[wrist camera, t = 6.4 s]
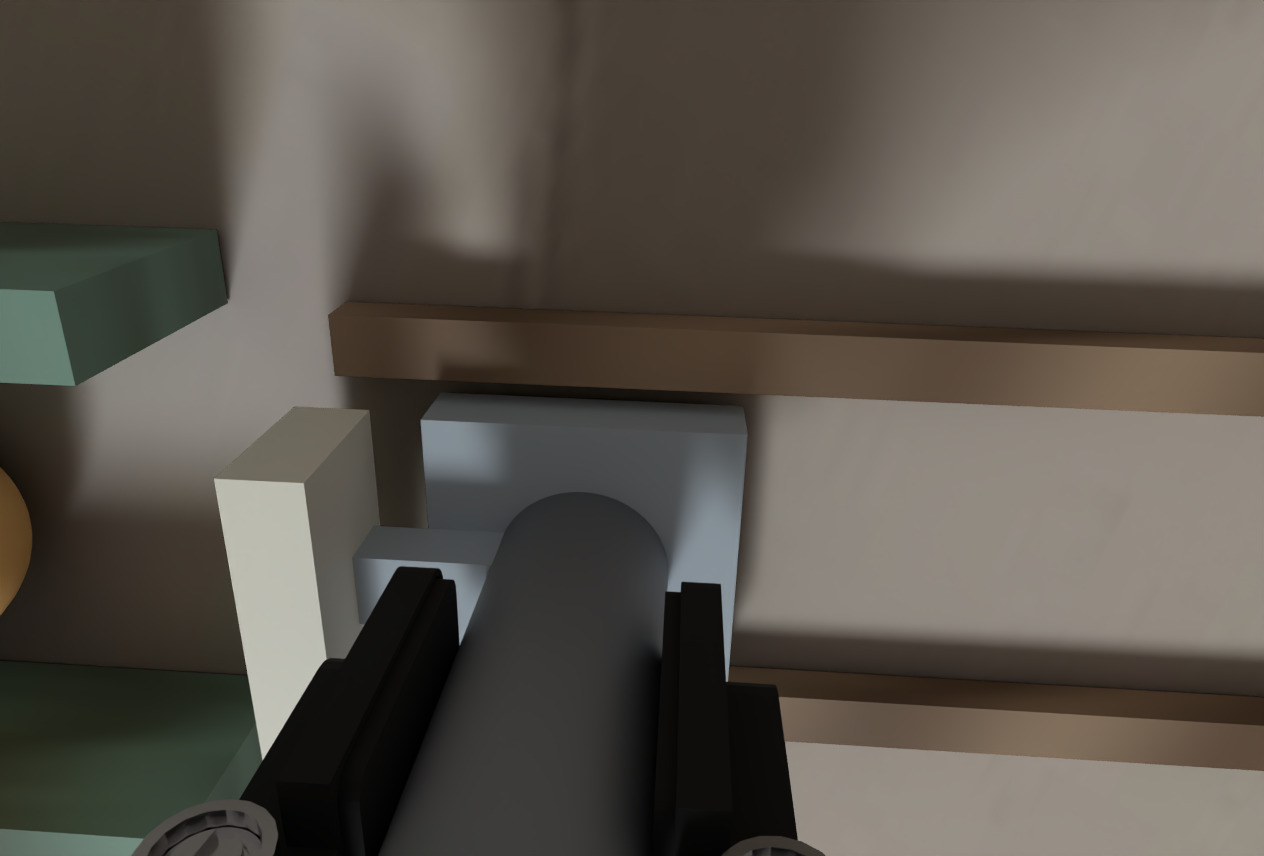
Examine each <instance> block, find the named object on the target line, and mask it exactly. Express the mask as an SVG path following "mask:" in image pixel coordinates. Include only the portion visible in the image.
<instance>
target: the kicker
mask: <svg viewBox="0 0 1264 856" xmlns="http://www.w3.org/2000/svg"><path fill="white" fill-rule="evenodd" d="M421 433H422V447H423V460H424V474H425V488H426V502H427V516H428V529H426V528H406V527H387V526H380V517H379V506H378V496H377V486H376V475H375V465H374V454H373V444H372V433H371V423H370V412H369V410H357V409H335V408H313V407H293V408H292V409H291V410H290V411H289V412H288V413H287V414H286V415H285V416H283V417H282V418H281V419H280V420H279V421H278V422H277V423H276V424H274V425H273V426H272V427H271V428H270V429H269V430H268V431H267V432H266V433H264V434H263V435H262V436H261V437H260V438H259V439H258V440H257V441H256V442H254V443H253V444H252V445H251V446H250V447H249V448H248V449H247V450H245V451H244V452H243V453H242V454H241V455H240V456H239V457H238V458H237V459H235V460H234V461H233V462H232V463H231V464H230V465H229V466H228V467H227V468H225V469H224V470H223V471H222V472H221V473H220V474H219V475H218V476H216V477H215V478H214V482H215V488H216V494H217V499H218V505H219V511H220V517H221V523H222V528H223V534H224V540H225V546H226V552H227V557H228V563H229V569H230V575H231V581H232V586H233V592H234V598H235V604H236V609H237V615H238V621H239V627H240V633H241V638H242V644H243V650H244V656H245V662H246V667H247V673H248V679H249V685H250V691H251V696H252V702H253V708H254V714H255V720H256V725H257V731H258V737H259V743H260V749H261V754H262V760H263V759H264V757H265V756H266V754H267V752H268V751H269V749H270V748H271V746H272V744H273V743H274V741H275V739H276V738H277V736H278V734H279V733H280V731H281V729H282V728H283V726H284V724H285V723H286V721H287V719H288V718H289V716H290V714H291V713H292V711H293V710H294V708H295V706H296V705H297V703H298V701H299V700H300V698H301V696H302V695H303V693H304V691H305V690H306V688H307V686H308V685H309V683H310V681H311V680H312V678H313V676H314V675H315V673H316V672H317V670H318V668H319V667H320V666H321V664H322V663H323V662H324V661H325V660H327V659H329V658H340V659H345V658H346V656H347V654H348V653H349V651H350V649H351V647H352V646H353V644H354V642H355V640H356V639H357V637H358V635H359V633H360V632H361V630H362V628H363V626H364V625H365V623H366V621H367V619H368V618H369V616H370V614H371V612H372V611H373V609H374V607H375V605H376V604H377V602H378V600H379V598H380V597H381V595H382V593H383V591H384V590H385V588H386V586H387V584H388V583H389V581H390V579H391V577H392V576H393V574H394V572H395V570H396V569H397V568H398V567H400V566H406V567H425V568H439V569H440V570H441V572H442V575H443V579H452V580H454V581H455V584H456V593H457V610H458V626H459V643H460V646H459V649H458V651H457V654H456V657H455V659H454V662H453V664H452V667H451V669H450V672H449V674H448V677H447V680H446V682H445V685H444V687H443V690H442V692H441V695H440V698H439V700H438V703H437V705H436V708H435V710H434V713H433V716H432V718H431V721H430V723H429V726H428V728H427V731H426V733H425V736H424V739H423V741H422V744H421V746H420V749H419V751H418V754H417V757H416V759H415V762H414V764H413V767H412V769H411V772H410V774H409V777H408V780H407V782H406V785H405V787H404V790H403V792H402V795H401V798H400V800H399V803H398V805H397V808H396V810H395V813H394V815H393V818H392V821H391V823H390V826H389V828H388V831H387V833H386V836H385V839H384V841H383V844H382V846H381V849H380V851H379V854H378V856H652V841H653V819H654V798H655V778H656V759H657V740H658V721H659V702H660V682H661V663H662V644H663V625H664V606H665V591H669V592H681V582H699V583H717V584H721V594H722V613H723V632H724V652H725V671H726V682H728V674H729V661H730V649H731V636H732V624H733V611H734V599H735V586H736V574H737V561H738V549H739V536H740V524H741V512H742V499H743V487H744V474H745V462H746V449H747V437H748V434H747V427H746V420H745V413H744V406H730V405H708V404H685V403H663V402H640V401H618V400H596V399H573V398H551V397H528V396H506V395H484V394H461V393H440V394H439V395H438V397H437V398H436V400H435V401H434V402H433V404H432V405H431V406H430V408H429V409H428V410H427V412H426V413H425V415H424V416H423V417H422V419H421Z"/></svg>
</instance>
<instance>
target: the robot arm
mask: <svg viewBox="0 0 1264 856" xmlns="http://www.w3.org/2000/svg"><path fill="white" fill-rule="evenodd" d="M459 646H460V643H459V626H458V610H457V593H456V584H455V581H454V580H452V579H443V575H442V572H441V570H440V569H439V568H425V567H406V566H400V567H398V568H397V569H396V570H395V572H394V574H393V576H392V577H391V579H390V581H389V583H388V584H387V586H386V588H385V590H384V591H383V593H382V595H381V597H380V598H379V600H378V602H377V604H376V605H375V607H374V609H373V611H372V612H371V614H370V616H369V618H368V619H367V621H366V623H365V625H364V626H363V628H362V630H361V632H360V633H359V635H358V637H357V639H356V640H355V642H354V644H353V646H352V647H351V649H350V651H349V653H348V654H347V656H346V658H345V659H340V658H329V659H327V660H325V661H324V662H323V663H322V664H321V666H320V667H319V668H318V670H317V672H316V673H315V675H314V676H313V678H312V680H311V681H310V683H309V685H308V686H307V688H306V690H305V691H304V693H303V695H302V696H301V698H300V700H299V701H298V703H297V705H296V706H295V708H294V710H293V711H292V713H291V714H290V716H289V718H288V719H287V721H286V723H285V724H284V726H283V728H282V729H281V731H280V733H279V734H278V736H277V738H276V739H275V741H274V743H273V744H272V746H271V748H270V749H269V751H268V752H267V754H266V756H265V757H264V759H263V761H262V762H261V764H260V766H259V767H258V769H257V771H256V772H255V774H254V776H253V777H252V779H251V781H250V782H249V784H248V786H247V787H246V789H245V791H244V792H243V794H242V795H241V797H240V799H239V800H236V799H225V800H216V801H209V802H205V803H202V804H199V805H196V806H193V807H190V808H187V809H185V810H183V811H181V812H179V813H177V814H176V815H174V816H172V817H170V818H168V819H166V820H165V821H163V822H162V823H161V824H160V825H159V826H157V827H156V828H155V829H154V830H152V831H151V832H150V833H149V834H147V835H146V837H145V838H144V839H143V841H142V842H141V843H140V844H139V846H138V847H137V848H136V849H135V851H134V852H133V854H132V855H131V856H378V854H379V851H380V849H381V846H382V844H383V841H384V839H385V836H386V833H387V831H388V828H389V826H390V823H391V821H392V818H393V815H394V813H395V810H396V808H397V805H398V803H399V800H400V798H401V795H402V792H403V790H404V787H405V785H406V782H407V780H408V777H409V774H410V772H411V769H412V767H413V764H414V762H415V759H416V757H417V754H418V751H419V749H420V746H421V744H422V741H423V739H424V736H425V733H426V731H427V728H428V726H429V723H430V721H431V718H432V716H433V713H434V710H435V708H436V705H437V703H438V700H439V698H440V695H441V692H442V690H443V687H444V685H445V682H446V680H447V677H448V674H449V672H450V669H451V667H452V664H453V662H454V659H455V657H456V654H457V651H458V649H459ZM652 856H825V855H824V854H823V853H822V852H821V851H819V850H817V849H815V848H813V847H811V846H809V845H807V844H806V843H804V842H801V841H798V839H797V831H796V823H795V816H794V808H793V801H792V793H791V785H790V778H789V770H788V763H787V755H786V748H785V740H784V732H783V725H782V717H781V710H780V702H779V695H778V690H777V687H776V685H774V684H758V683H741V682H726V671H725V652H724V632H723V613H722V594H721V584H717V583H699V582H681V592H669V591H665V606H664V625H663V644H662V663H661V682H660V702H659V721H658V740H657V759H656V778H655V798H654V819H653V841H652Z"/></svg>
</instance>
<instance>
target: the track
mask: <svg viewBox="0 0 1264 856" xmlns="http://www.w3.org/2000/svg"><path fill="white" fill-rule="evenodd" d="M328 318H329V327H330V336H331V345H332V354H333V363H334V372H335V376H352V377H374V378H397V379H420V380H443V381H465V382H488V383H511V384H534V385H556V386H579V387H602V388H625V389H647V390H670V391H693V392H716V393H738V394H761V395H784V396H806V397H829V398H852V399H875V400H897V401H920V402H943V403H966V404H988V405H1011V406H1034V407H1057V408H1079V409H1102V410H1125V411H1148V412H1170V413H1193V414H1216V415H1239V416H1261V417H1264V339H1263V338H1238V337H1213V336H1188V335H1163V334H1138V333H1113V332H1088V331H1063V330H1038V329H1013V328H988V327H963V326H938V325H914V324H889V323H864V322H839V321H814V320H789V319H764V318H739V317H714V316H689V315H664V314H639V313H614V312H589V311H564V310H539V309H514V308H489V307H464V306H439V305H414V304H389V303H364V302H345V303H344V304H343V305H341V306H340V307H339V308H337V309H336V310H334V311H333V312H332V313H330V314H329V315H328ZM728 682H741V683H758V684H774V685H776V687H777V690H778V695H779V702H780V710H781V717H782V725H783V732H784V740H785V741H790V742H806V743H822V744H839V745H855V746H871V747H887V748H903V749H919V750H936V751H952V752H968V753H984V754H1000V755H1016V756H1032V757H1049V758H1065V759H1081V760H1097V761H1113V762H1129V763H1145V764H1162V765H1178V766H1194V767H1210V768H1226V769H1242V770H1259V771H1264V697H1248V696H1231V695H1214V694H1197V693H1180V692H1162V691H1145V690H1128V689H1111V688H1094V687H1076V686H1059V685H1042V684H1025V683H1008V682H990V681H973V680H956V679H939V678H922V677H905V676H887V675H870V674H853V673H836V672H819V671H801V670H784V669H767V668H750V667H733V666H729V674H728Z"/></svg>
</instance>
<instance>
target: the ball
mask: <svg viewBox="0 0 1264 856" xmlns="http://www.w3.org/2000/svg"><path fill="white" fill-rule="evenodd" d="M31 550H32V528H31V522H30V516H29V513H28V510H27V507H26V504H25V502H24V500H23V498H22V496H21V494H20V492H19V490H18V489H17V487H16V486H15V484H14V483H13V481H12V480H11V478H10V477H9V476H8V475H7V474H6V473H5V472H4V470H3V469H2V468H1V467H0V616H1V614H2V613H3V612H4V610H5V609H6V608H7V607H8V605H9V604H10V603H11V601H12V600H13V599H14V597H15V596H16V594H17V592H18V590H19V588H20V586H21V584H22V582H23V580H24V578H25V575H26V572H27V569H28V566H29V562H30V557H31Z"/></svg>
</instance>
